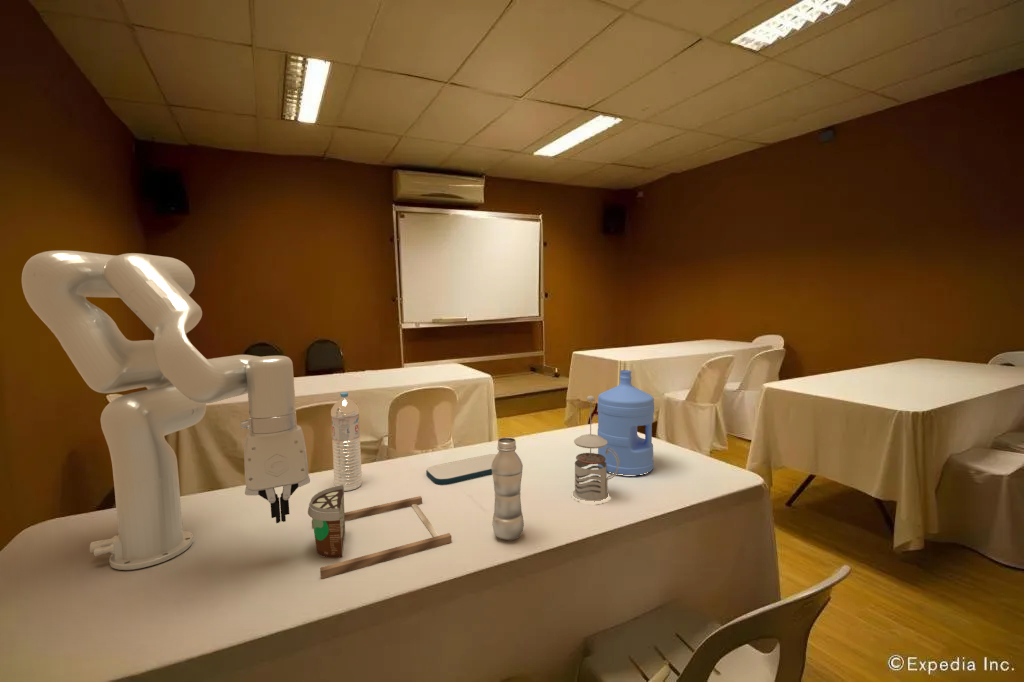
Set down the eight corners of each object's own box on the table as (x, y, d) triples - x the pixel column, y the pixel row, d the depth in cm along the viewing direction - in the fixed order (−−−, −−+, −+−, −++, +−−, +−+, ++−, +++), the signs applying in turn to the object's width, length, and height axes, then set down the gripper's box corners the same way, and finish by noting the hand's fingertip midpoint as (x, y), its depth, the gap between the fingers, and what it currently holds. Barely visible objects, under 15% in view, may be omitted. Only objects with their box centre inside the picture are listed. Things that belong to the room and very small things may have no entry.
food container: (314, 534, 92) (311, 487, 91) (345, 529, 94) (343, 483, 93) (305, 567, 80) (302, 514, 79) (341, 561, 82) (339, 509, 81)
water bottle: (353, 493, 112) (348, 396, 110) (328, 491, 114) (324, 395, 112) (367, 482, 119) (363, 390, 117) (344, 480, 120) (339, 390, 118)
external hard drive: (496, 458, 137) (496, 452, 137) (515, 470, 127) (515, 463, 127) (423, 474, 125) (422, 467, 125) (438, 488, 115) (437, 481, 115)
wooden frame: (321, 578, 77) (320, 571, 77) (312, 526, 95) (311, 519, 95) (451, 542, 88) (451, 535, 88) (420, 501, 107) (420, 496, 107)
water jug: (592, 473, 123) (592, 373, 121) (603, 455, 137) (603, 366, 135) (650, 481, 117) (651, 376, 115) (655, 461, 131) (656, 368, 129)
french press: (575, 485, 115) (574, 390, 113) (620, 491, 111) (621, 393, 109) (566, 501, 106) (566, 398, 104) (615, 508, 102) (616, 401, 100)
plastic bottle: (496, 547, 86) (495, 446, 85) (489, 530, 93) (487, 436, 91) (528, 541, 88) (527, 443, 86) (518, 525, 94) (517, 434, 93)
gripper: (223, 434, 74) (232, 539, 76) (319, 421, 81) (326, 517, 83) (227, 424, 81) (235, 521, 82) (316, 413, 88) (322, 502, 89)
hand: (280, 519), depth 83 cm, fingers closed
